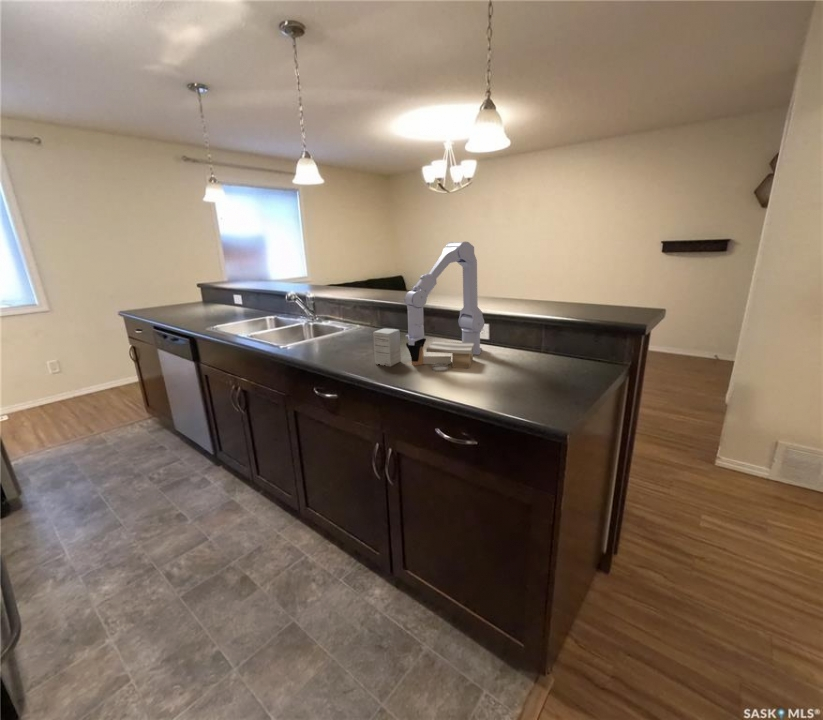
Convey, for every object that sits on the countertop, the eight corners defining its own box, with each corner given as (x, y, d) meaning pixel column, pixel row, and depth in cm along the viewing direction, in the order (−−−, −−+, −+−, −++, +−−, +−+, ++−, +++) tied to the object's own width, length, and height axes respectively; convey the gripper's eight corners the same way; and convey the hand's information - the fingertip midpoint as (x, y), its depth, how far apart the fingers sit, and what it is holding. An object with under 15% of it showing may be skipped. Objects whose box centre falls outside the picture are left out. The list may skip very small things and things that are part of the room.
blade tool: (413, 361, 148) (412, 346, 146) (451, 361, 145) (451, 346, 144) (411, 364, 144) (410, 349, 142) (450, 364, 142) (450, 349, 140)
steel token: (433, 366, 142) (433, 362, 141) (450, 367, 140) (450, 363, 140) (430, 371, 136) (430, 367, 136) (447, 372, 135) (447, 368, 134)
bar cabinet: (433, 357, 152) (432, 341, 150) (474, 359, 148) (474, 343, 146) (426, 366, 142) (426, 348, 140) (470, 368, 138) (470, 350, 136)
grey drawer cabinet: (385, 359, 152) (383, 327, 149) (401, 361, 148) (400, 329, 145) (374, 364, 146) (372, 331, 143) (390, 366, 142) (389, 333, 139)
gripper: (410, 319, 149) (411, 353, 153) (399, 327, 136) (401, 364, 140) (428, 320, 147) (428, 354, 151) (419, 328, 134) (419, 365, 138)
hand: (416, 359), depth 145 cm, fingers closed on blade tool, 4 cm apart
